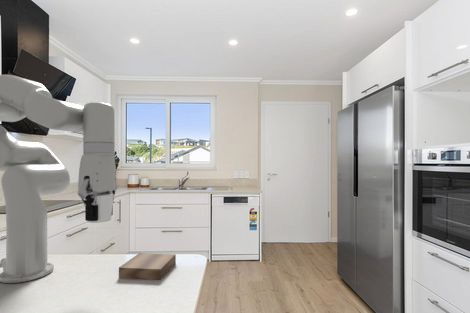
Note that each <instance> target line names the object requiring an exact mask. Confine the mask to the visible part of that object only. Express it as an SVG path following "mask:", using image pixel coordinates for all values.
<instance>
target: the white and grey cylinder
mask: <svg viewBox="0 0 470 313" xmlns="http://www.w3.org/2000/svg"><path fill="white" fill-rule="evenodd" d="M90 196H91V198H92V199H93V195H90ZM113 202H114V200H113V193H98V196H97V203H96V205H98V220H97V221H87V223H90V224H99V223H107V222H110V221H111V220H112V216H113V215H112V205H113V204H114V203H113Z"/></svg>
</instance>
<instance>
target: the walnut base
mask: <svg viewBox="0 0 470 313" xmlns="http://www.w3.org/2000/svg"><path fill="white" fill-rule="evenodd" d="M176 256H177V255H176V254H175V253H172V254H171V253H147V252H145V253H144V252H143V253H142V252H141V253H140V252H138V253H137V254H136V255H135V256H133V257H132V258H130V259H129V260H127V261H126V262H124V263H123V264H122V265H120V266H119V267H118V279H121V280H137V281H138V280H140V281H141V280H142V281H162V280H163V279H164V277H165V276H166V275H168V273H169V272H170V271H171V270H172V269H173V267H175V265H176V264H177V263H176V262H177V261H176ZM171 268H172V269H171ZM170 269H171V270H170ZM169 270H170V271H169Z"/></svg>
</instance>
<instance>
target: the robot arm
mask: <svg viewBox="0 0 470 313" xmlns="http://www.w3.org/2000/svg"><path fill="white" fill-rule="evenodd" d="M25 118H27V119H28V120H30V121H31V122H34V123H36V124H38V125H40V126H43V127H45V128H48V129H50V130H55V131H64V132H72V133H79V134H83V137H82V142H83V144H82V145H83V146H82V148H83V149H82V150H83V153H82V155H81V157H80V161H79V162H80V163H79V167H78V168H79V170H78V182H77V183H78V184H77V185H78V186H77V187H78V191H77V195H78V197H79V198H80V199H81V200H82V203H83V206H85V208H84V210H85V212H84V218H85V221H87V222H88V221H97V220H98V205H96V203H97V196H98V193H113V201H114V199H115V197H114V196H115V194H116V191H117V190H118V185H117V167H116V157H115V155H116V154H115V152H116V151H115V150H116V149H115V148H116V146H115V145H116V144H115V141H116V139H115V136H116V135H115V133H116V132H115V129H116V128H115V125H116V124H115V123H116V122H115V108H114V106H113V105H111V104H109V103H105V102H99V101H98V102H94V101H93V102H87V103H85V104H84V105H80V104H76V103H71V102H67V101H63V100H59V99H56V98H53V96H52V94H51V92H50V91H49V90H48V89H47V87H45V85H43V84H42V83H40V82H38V81H35V80H31V79H27V78H23V77H20V76H18V75H14V74H13V75H12V74H0V122H7V123H15V122H18V121H21V120H23V119H25ZM0 171H1V172H3V173H2V177H1V188H2V189H1V190H2V192H3V197H4V202H5V212H6V213H5V223H6V224H5V226H6V227H5V228H6V230H5V233H6V234H5V235H6V236H5V238H6V239H5V241H6V242H5V244H6V245H5V254H6V255H5V257H3V258H1V259H0V268H2V272H1V273H0V283H4V284H17V283H18V284H20V283H23V282H29V281H34V280H37V279H40V278H43V277H44V276H47V275H49V274H51V273H52V272H53V271H54V267H55V266H54V264H53V263H52V262H48V209H47V206H46V204H45V202H44V201H43V199H42V198H41V197H42V196H47V195H54V194H60V193H62V192H64V191H65V190H67V188H69V186H70V183H71V177H70V173H69V171H68V170H67V168H66V166H65V165H64V163H62V161H60V159H59V158H58V157H57V156H56V155H55V154H54V153H53V151H52V150H51V149H50V148H49V147H48V146H46V145H45V144H43V143H40V142H38V141H37V142H36V141H29V140H20V139H17V138H14V137H13V136H12V135H11V134H10V133H9V131H8V130H7V129H6V128H5V127H4V126H3V125H1V124H0ZM90 195H93V199H92V198H91V196H90ZM113 207H114V206H113V205H112V216H113V215H114V214H113V213H114V212H113V211H114V210H113V209H114V208H113Z"/></svg>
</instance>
